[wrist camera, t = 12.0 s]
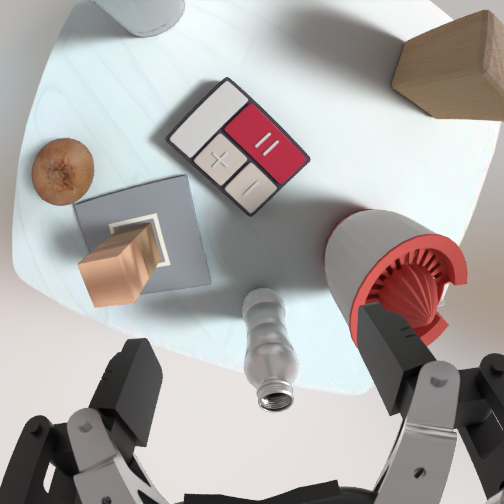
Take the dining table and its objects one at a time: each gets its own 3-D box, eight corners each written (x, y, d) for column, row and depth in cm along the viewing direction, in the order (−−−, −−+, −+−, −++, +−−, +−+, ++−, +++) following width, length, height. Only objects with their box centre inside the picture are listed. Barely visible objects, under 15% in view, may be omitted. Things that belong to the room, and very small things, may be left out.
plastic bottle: (277, 277, 43) (301, 374, 24) (287, 312, 45) (311, 411, 27) (236, 288, 43) (235, 389, 25) (248, 323, 46) (254, 424, 27)
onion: (106, 160, 38) (107, 165, 30) (73, 209, 38) (66, 228, 30) (63, 126, 32) (51, 123, 24) (29, 177, 32) (11, 189, 24)
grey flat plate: (78, 203, 37) (74, 205, 36) (187, 174, 37) (185, 175, 35) (109, 295, 43) (106, 299, 42) (211, 280, 43) (210, 284, 41)
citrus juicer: (394, 294, 45) (455, 369, 27) (302, 288, 44) (338, 384, 25) (420, 208, 40) (508, 256, 21) (322, 188, 38) (392, 234, 20)
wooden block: (448, 74, 31) (537, 64, 12) (435, 121, 34) (531, 128, 16) (403, 39, 29) (488, 4, 11) (387, 87, 33) (482, 67, 14)
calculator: (251, 220, 36) (162, 139, 31) (248, 211, 40) (169, 138, 35) (314, 160, 33) (226, 74, 28) (305, 156, 37) (227, 80, 32)
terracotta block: (99, 244, 32) (77, 264, 27) (136, 236, 32) (117, 256, 27) (113, 283, 34) (94, 307, 29) (149, 277, 34) (134, 302, 29)
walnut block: (117, 230, 38) (99, 244, 32) (151, 222, 38) (136, 236, 32) (128, 264, 40) (113, 283, 34) (161, 258, 40) (149, 277, 34)
